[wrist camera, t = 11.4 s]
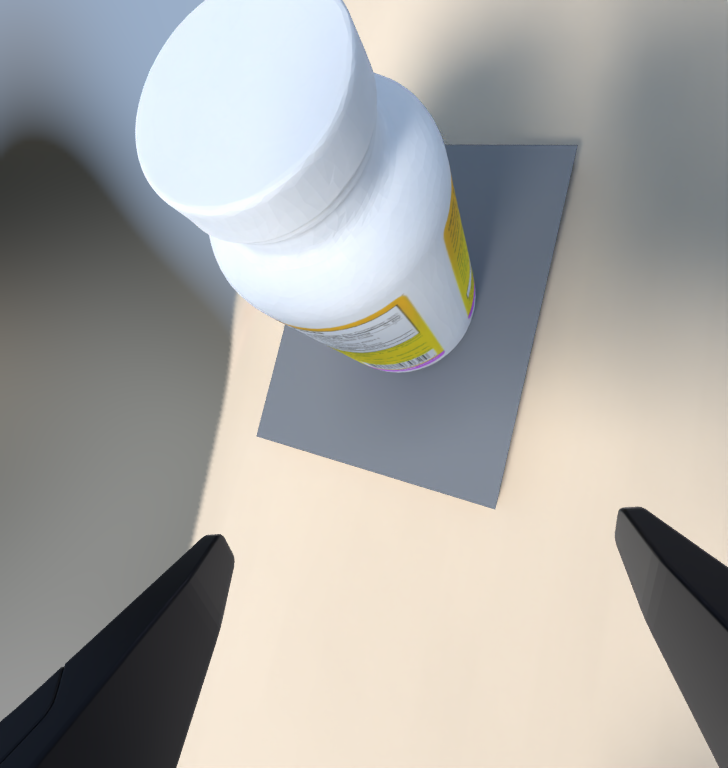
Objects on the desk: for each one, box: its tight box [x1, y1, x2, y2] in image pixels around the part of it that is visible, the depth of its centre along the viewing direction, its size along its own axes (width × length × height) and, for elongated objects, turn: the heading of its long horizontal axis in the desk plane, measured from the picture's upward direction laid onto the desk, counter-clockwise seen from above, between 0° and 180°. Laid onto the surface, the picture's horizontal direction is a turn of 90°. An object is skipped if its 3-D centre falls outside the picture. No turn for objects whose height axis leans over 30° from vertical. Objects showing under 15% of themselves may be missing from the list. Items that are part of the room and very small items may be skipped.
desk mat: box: [257, 145, 578, 509], centre depth 20 cm, size 16×12×1 cm
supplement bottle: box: [135, 0, 476, 373], centre depth 13 cm, size 7×7×13 cm
